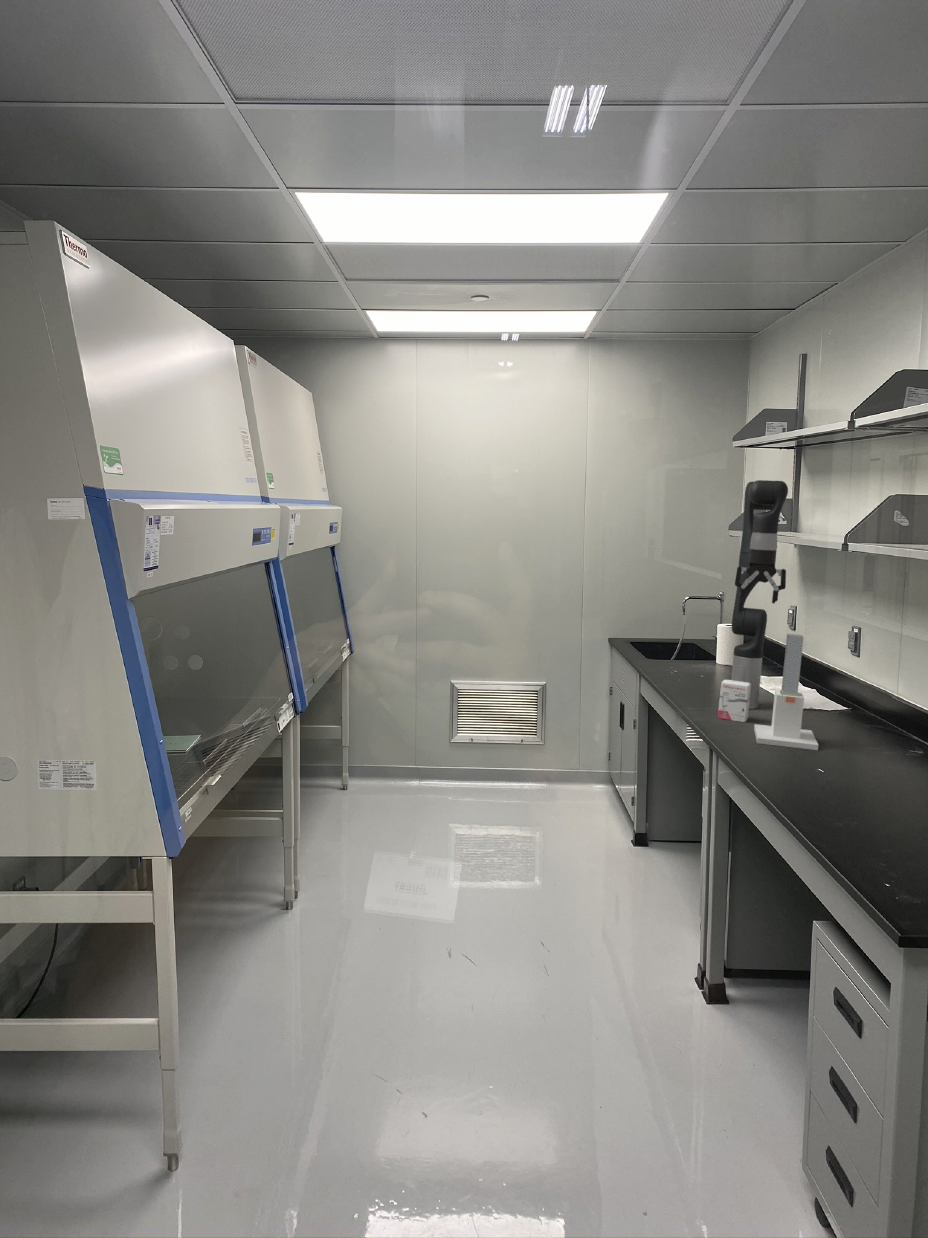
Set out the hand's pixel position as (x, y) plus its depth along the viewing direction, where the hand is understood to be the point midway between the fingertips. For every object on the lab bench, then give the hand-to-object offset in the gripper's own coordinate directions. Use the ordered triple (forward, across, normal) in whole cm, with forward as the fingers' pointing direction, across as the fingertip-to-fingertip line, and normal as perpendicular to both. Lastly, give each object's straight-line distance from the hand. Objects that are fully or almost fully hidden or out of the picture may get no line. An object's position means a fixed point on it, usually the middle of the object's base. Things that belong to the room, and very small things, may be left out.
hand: (758, 602), depth 244 cm
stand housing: (+38, -10, +12) cm, 41 cm away
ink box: (+38, +4, -6) cm, 39 cm away
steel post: (+30, -10, +12) cm, 33 cm away
